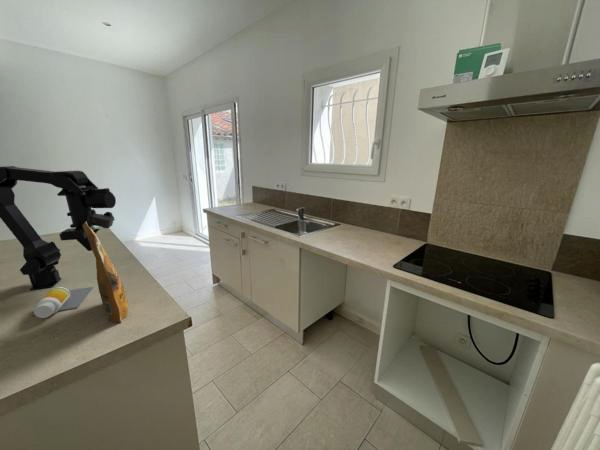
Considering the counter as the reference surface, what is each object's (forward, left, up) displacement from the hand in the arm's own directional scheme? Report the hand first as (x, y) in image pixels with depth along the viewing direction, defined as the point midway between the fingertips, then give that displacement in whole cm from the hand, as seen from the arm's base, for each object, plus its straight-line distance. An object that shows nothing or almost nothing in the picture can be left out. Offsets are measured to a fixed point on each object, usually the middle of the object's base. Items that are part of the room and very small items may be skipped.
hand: (90, 250), depth 87 cm
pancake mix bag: (+11, -22, -13) cm, 28 cm away
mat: (-6, -10, -13) cm, 18 cm away
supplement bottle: (-6, -11, -10) cm, 16 cm away
